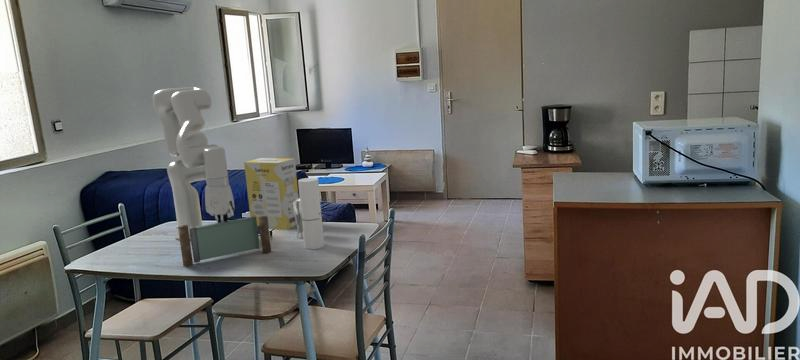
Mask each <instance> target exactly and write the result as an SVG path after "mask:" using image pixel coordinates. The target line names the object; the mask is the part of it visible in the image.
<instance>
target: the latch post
mask: <svg viewBox="0 0 800 360" xmlns="http://www.w3.org/2000/svg"><path fill="white" fill-rule="evenodd" d="M258 219H259V226H256V233H257V235H258V236H260V243H261V244H260V245H261V252H262V253H263V254H268V253H271V252H272V245H271V237H270V229H269V226H268V217H267V216H261V217H258Z"/></svg>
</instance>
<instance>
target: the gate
mask: <svg viewBox="0 0 800 360" xmlns="http://www.w3.org/2000/svg"><path fill="white" fill-rule="evenodd" d="M256 226H257V220H256V217H255V216H253V217H250V216H249V217H243V218H238V219H237V218H236V219H231V220H227V221H225V222H219V223H218V222H215V223H209V224H204V225H203V224H202V226H197V227H190V228H189V229H190V237H191V239H190V245H191V252H192V259H193V264H194V263H195V264H196V263H197V264H198V263H200V262H201V261H204V260H205V261H206V260H209V259H213V258H218V257H224V256H229V255H233V254H238V253H243V252H248V251H252V250H258V249H261V248H260V247H261V246H260V239H259V235H257V233H256Z"/></svg>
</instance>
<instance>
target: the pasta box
mask: <svg viewBox="0 0 800 360" xmlns="http://www.w3.org/2000/svg"><path fill="white" fill-rule="evenodd" d="M243 164H244V172H245V180H246V188H247V189H246V190H247V198H248V209H249V215H250V216H249V217H253V216H255V217H256V220H257V226H259V219H258V217H261V216H267V217H268V226H269V230H270V229H271V230H272V229H273V230H283V231H287V230H290V229H291V228H293V227H295V226H296V227H297V224H296V220H295V217H294V211H293V200H294V199H296V198H300V196H299V186H298V180H297V168H296V159H295V158H284V157H283V158H282V157H281V158H279V157H278V158H277V157H258V158H256V159H251V160H247V161H244V163H243Z"/></svg>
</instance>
